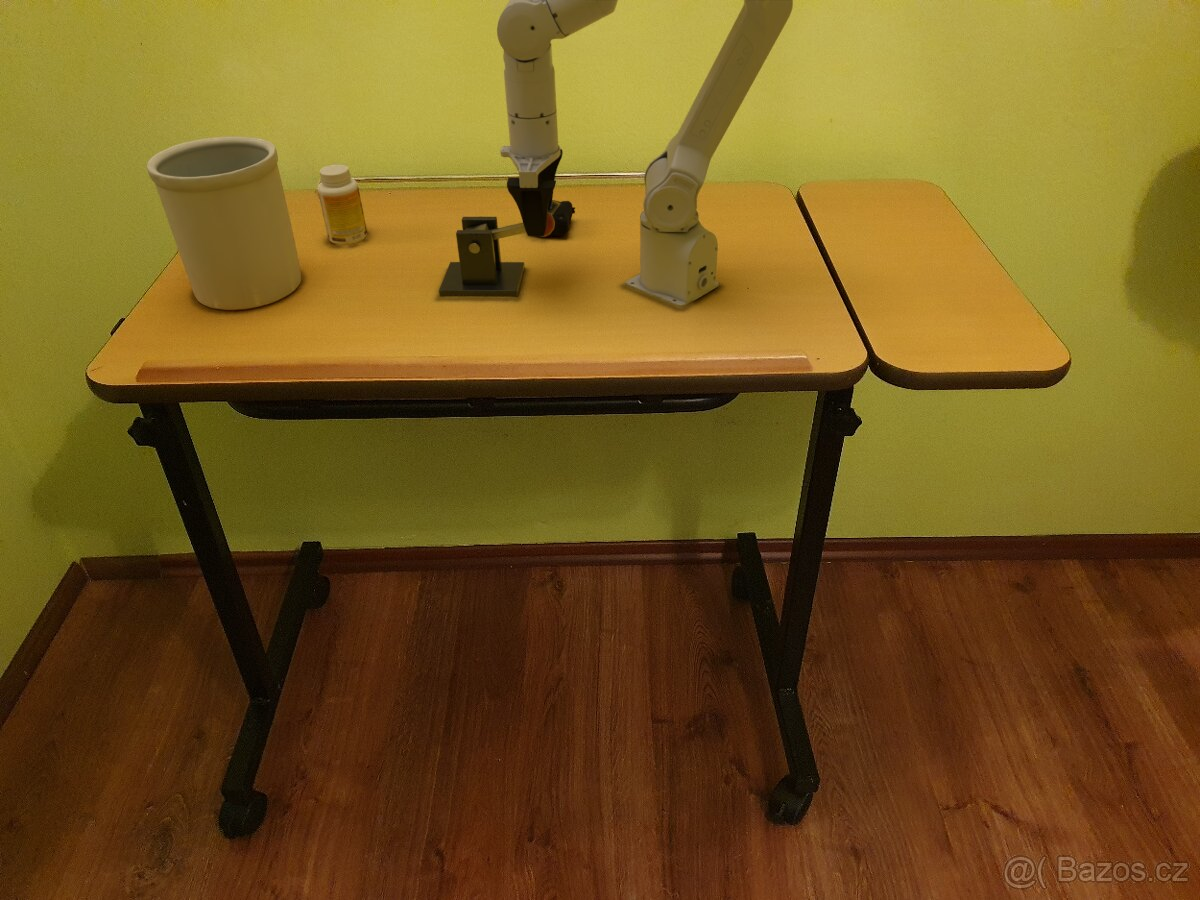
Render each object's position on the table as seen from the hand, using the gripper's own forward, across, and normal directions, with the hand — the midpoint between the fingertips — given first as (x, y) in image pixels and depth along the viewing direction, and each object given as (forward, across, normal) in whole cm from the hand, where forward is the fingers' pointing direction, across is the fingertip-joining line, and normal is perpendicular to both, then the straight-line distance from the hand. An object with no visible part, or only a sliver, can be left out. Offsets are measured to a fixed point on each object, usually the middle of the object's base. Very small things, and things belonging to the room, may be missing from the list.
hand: (539, 221), depth 113 cm
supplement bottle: (+9, -14, -30) cm, 34 cm away
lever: (+3, 0, -3) cm, 4 cm away
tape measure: (+9, -16, 0) cm, 19 cm away
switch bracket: (+9, 0, -8) cm, 12 cm away
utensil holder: (+9, +1, -39) cm, 40 cm away
